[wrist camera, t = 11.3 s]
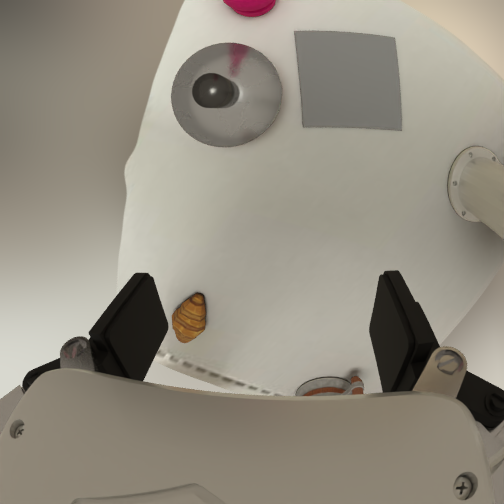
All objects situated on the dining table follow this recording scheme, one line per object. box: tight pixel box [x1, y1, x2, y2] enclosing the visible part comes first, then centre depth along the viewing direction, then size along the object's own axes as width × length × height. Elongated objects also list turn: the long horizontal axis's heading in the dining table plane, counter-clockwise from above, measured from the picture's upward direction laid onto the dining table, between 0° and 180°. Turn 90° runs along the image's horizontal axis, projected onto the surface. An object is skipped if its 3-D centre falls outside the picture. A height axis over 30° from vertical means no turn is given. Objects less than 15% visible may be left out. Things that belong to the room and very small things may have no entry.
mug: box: [296, 376, 364, 396], centre depth 53 cm, size 14×19×15 cm
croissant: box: [172, 293, 206, 343], centre depth 51 cm, size 14×7×5 cm, turn 158°
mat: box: [294, 31, 402, 131], centre depth 30 cm, size 14×14×1 cm
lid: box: [171, 43, 282, 147], centre depth 26 cm, size 13×13×7 cm
